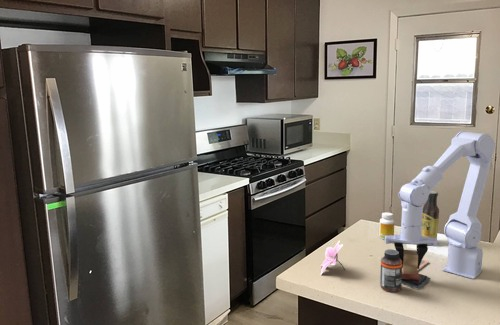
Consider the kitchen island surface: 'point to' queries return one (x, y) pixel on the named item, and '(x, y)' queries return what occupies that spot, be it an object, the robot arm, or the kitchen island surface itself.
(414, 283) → the ink pad
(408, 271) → the stamp
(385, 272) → the supplement bottle
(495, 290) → the kitchen island surface
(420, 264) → the mat
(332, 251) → the lily
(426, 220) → the tonic bottle
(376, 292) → the kitchen island surface
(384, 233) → the supplement bottle
